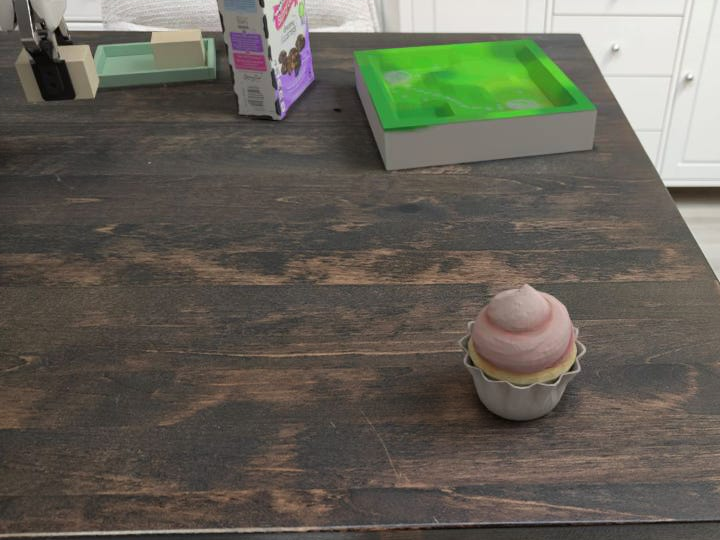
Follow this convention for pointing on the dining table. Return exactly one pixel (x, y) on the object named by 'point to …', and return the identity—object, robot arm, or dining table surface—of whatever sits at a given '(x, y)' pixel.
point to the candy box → (267, 54)
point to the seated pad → (178, 49)
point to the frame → (146, 65)
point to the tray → (470, 103)
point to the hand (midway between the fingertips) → (63, 87)
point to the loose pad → (78, 68)
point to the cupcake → (522, 353)
